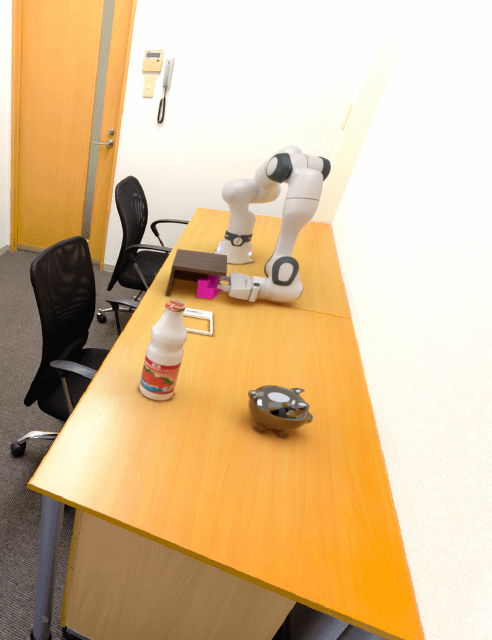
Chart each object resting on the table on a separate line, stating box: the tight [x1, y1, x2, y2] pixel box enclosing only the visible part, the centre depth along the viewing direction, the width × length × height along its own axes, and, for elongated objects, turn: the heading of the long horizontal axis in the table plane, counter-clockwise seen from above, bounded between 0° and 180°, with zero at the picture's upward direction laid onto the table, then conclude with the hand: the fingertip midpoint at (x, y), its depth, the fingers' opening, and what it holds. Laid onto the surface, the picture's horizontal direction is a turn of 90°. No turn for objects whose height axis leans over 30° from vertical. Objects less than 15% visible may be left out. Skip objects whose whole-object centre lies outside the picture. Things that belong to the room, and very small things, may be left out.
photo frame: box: [183, 307, 214, 336], centre depth 159 cm, size 15×1×18 cm
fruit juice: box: [139, 299, 188, 401], centre depth 116 cm, size 9×9×28 cm
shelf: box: [165, 248, 228, 297], centre depth 181 cm, size 23×20×14 cm
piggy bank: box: [247, 384, 314, 437], centre depth 107 cm, size 11×15×12 cm
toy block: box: [196, 274, 223, 300], centre depth 179 cm, size 15×6×8 cm, turn 139°
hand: (217, 281), depth 178 cm, fingers open, 8 cm apart
